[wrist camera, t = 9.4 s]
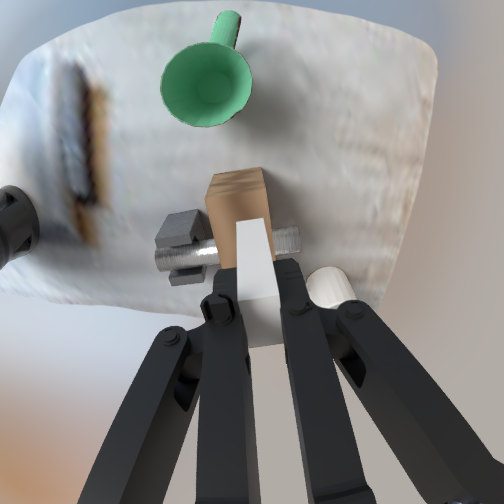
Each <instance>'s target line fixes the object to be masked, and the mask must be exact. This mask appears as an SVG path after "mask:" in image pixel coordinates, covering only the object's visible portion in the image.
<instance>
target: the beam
mask: <svg viewBox="0 0 504 504" xmlns="http://www.w3.org/2000/svg"><path fill="white" fill-rule="evenodd" d="M205 203H206V207H207V212H208V216H209V220H210V224H211V228H212V232H213V236H214V240H215V244H216V248H217V252H218V256H219V260H220V264H221V268H222V269H227V268H234V267H237V232H236V222H239V221H246V220H252V219H259V218H263V219H264V224H265V229H266V233H267V238H268V243H269V247H270V252H271V257H272V261H276V259H275V251H274V243H273V236H272V228H271V221H270V214H269V207H268V200H267V192H266V187H265V183H264V178H263V174H262V170H261V167H257V168H250V169H244V170H238V171H231V172H226V173H220V174H214V175H213V178H212V180H211V183H210V186H209V188H208V191H207V194H206V196H205Z"/></svg>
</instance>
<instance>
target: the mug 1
mask: <svg viewBox="0 0 504 504" xmlns="http://www.w3.org/2000/svg"><path fill="white" fill-rule="evenodd" d="M240 24H241V16H240V15H239V14H238V13H237V12H235V11H232V10H226V11H223V12H221V13H220V14H219V15H218V17H217V19H216V22H215V25H214V28H213V32H212V35H211V39H210V42H202V43H198V44H194V45H191V46H188V47H186V48H185V49H183V50H181V51H180V52H178V53H177V54H176V55H175V56H174V57H173V58H172V59H171V60H170V61H169V63H168V64H167V65H166V67H165V70H164V72H163V74H162V77H161V86H160V92H161V96H162V100H163V103H164V105H165V106H166V108H167V109H168V111H169V112H170V114H171V115H173V116H174V117H175V118H177V119H178V120H179V121H181V122H183V123H185V124H188V125H191V126H194V127H212V126H216V125H220V124H223V123H225V122H226V121H228V120H230V119H231V118H233V117H234V115H235V114H236V113H238V112H240V111H241V110H242V109H243V108H244V107H245V105H246V103H247V101H248V99H249V97H250V95H251V90H252V82H253V79H252V75H251V71H250V67H249V65H248V64H247V62H246V61H245V59H244V58H243V56H242V55H241V54H239V53H238V52H237V51H236V50H234V49H235V45H236V41H237V37H238V33H239V28H240Z"/></svg>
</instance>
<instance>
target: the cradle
mask: <svg viewBox="0 0 504 504" xmlns="http://www.w3.org/2000/svg"><path fill="white" fill-rule="evenodd" d="M154 240H155V242H156V245H157V248H158V249H160V248H167V247H173V246H179V245H185V244H191V243H192V242H194V241H200V240H206V238H205V234H204V230H203V226H202V222H201V218H200V214H199V210H198V209H196V210H191V211H185V212H180V213H175V214H169V215H168V216H167V218H166V220H165V221H164V223H163V225H162V227H161V228H160V230H159V232H158V234H157V236H156V237H155V239H154ZM206 268H207V266H200V267H193V268H186V269H178V270H171V273H170V276H169V281H170V283H171V286H178V285H187V284H194V283H202V282H204V279H205V273H206Z"/></svg>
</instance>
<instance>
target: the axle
mask: <svg viewBox="0 0 504 504" xmlns="http://www.w3.org/2000/svg"><path fill="white" fill-rule="evenodd" d="M272 236H273V243H274V251H275V256H277V255H283V254H290V253H297V252H301V242H300V235H299V230H298V227H297V226H293V227H286V228H279V229H272ZM155 261H156V265H157V268H158V270H159V271H160V272H164V271H171V270H178V269H186V268H193V267H200V266H207V265H214V264H220V260H219V256H218V252H217V248H216V244H215V240H214V238H213V239H206V240H200V241H194V242H192V243H191V244H185V245H179V246H173V247H167V248H160V249H158V248H156V251H155Z"/></svg>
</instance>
